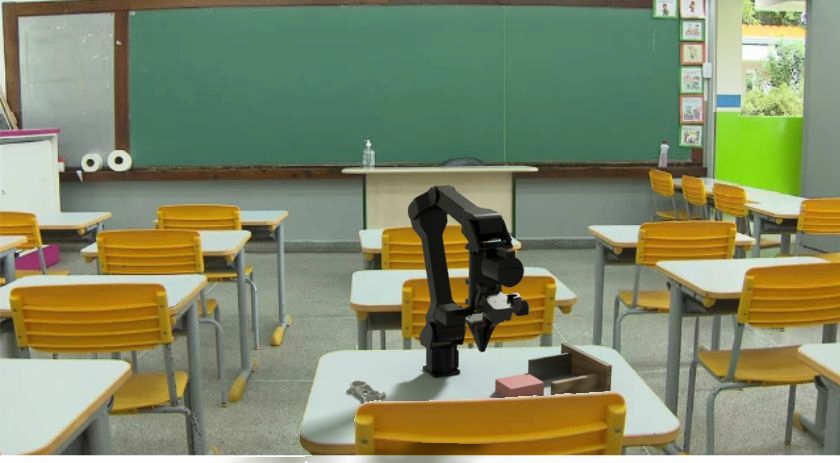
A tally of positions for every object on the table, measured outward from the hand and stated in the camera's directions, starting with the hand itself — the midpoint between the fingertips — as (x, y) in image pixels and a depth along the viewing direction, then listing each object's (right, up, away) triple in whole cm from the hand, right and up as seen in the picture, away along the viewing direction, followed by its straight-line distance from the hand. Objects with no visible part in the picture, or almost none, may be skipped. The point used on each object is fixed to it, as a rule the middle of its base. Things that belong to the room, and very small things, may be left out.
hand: (481, 351), depth 152 cm
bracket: (-23, -11, +2) cm, 25 cm away
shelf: (+18, -9, +10) cm, 22 cm away
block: (+8, -10, +6) cm, 14 cm away
